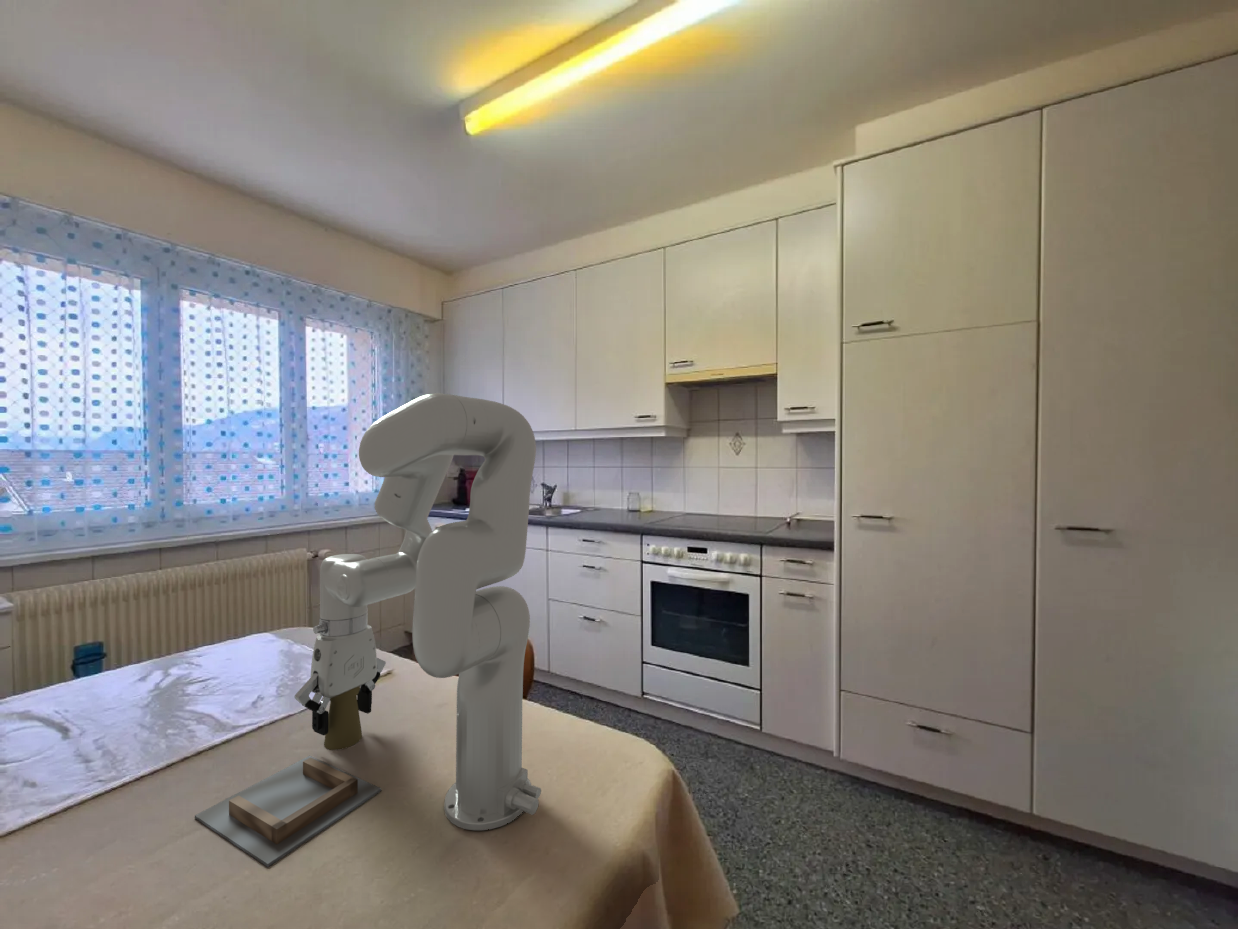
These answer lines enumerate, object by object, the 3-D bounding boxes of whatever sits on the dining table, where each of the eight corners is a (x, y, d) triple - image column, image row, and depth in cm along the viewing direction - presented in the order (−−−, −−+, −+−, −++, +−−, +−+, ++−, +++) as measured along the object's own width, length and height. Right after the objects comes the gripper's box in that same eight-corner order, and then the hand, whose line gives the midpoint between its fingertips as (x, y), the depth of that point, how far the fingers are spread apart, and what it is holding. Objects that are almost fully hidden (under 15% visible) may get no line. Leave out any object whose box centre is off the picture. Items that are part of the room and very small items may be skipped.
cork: (369, 732, 92) (369, 673, 92) (348, 751, 86) (348, 688, 86) (338, 730, 92) (339, 671, 92) (315, 748, 86) (316, 686, 86)
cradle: (381, 791, 76) (381, 775, 76) (267, 867, 61) (267, 848, 61) (309, 757, 84) (309, 743, 84) (194, 818, 69) (194, 801, 69)
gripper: (307, 643, 79) (306, 752, 80) (399, 614, 95) (398, 705, 95) (280, 635, 83) (279, 740, 83) (373, 608, 98) (372, 696, 99)
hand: (343, 721), depth 89 cm, fingers open, 7 cm apart
